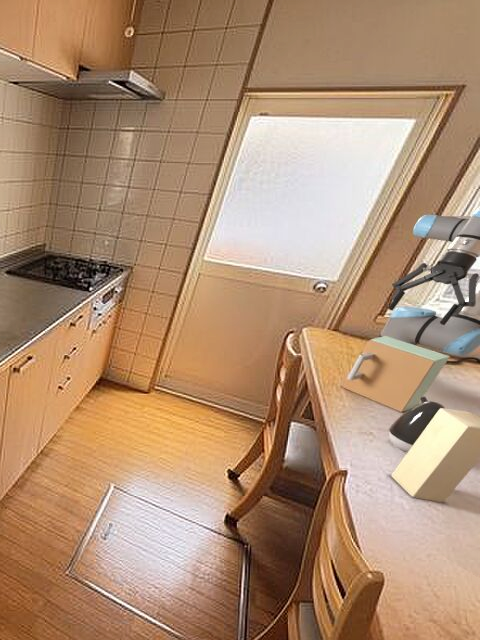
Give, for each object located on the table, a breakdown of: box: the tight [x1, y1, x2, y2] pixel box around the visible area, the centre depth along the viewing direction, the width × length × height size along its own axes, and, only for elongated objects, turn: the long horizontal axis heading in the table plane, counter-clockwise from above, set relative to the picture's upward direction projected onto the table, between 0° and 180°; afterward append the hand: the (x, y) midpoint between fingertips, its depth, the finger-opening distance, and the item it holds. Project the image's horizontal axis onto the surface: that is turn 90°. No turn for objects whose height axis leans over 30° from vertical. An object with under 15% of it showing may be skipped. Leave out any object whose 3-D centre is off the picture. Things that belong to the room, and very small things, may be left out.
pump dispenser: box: [388, 396, 446, 453], centre depth 116 cm, size 10×10×15 cm
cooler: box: [370, 336, 451, 412], centre depth 143 cm, size 10×17×19 cm, turn 25°
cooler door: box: [342, 339, 435, 413], centre depth 139 cm, size 8×17×19 cm, turn 25°
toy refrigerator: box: [390, 408, 480, 503], centre depth 98 cm, size 8×7×21 cm
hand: (414, 316), depth 138 cm, fingers open, 13 cm apart
